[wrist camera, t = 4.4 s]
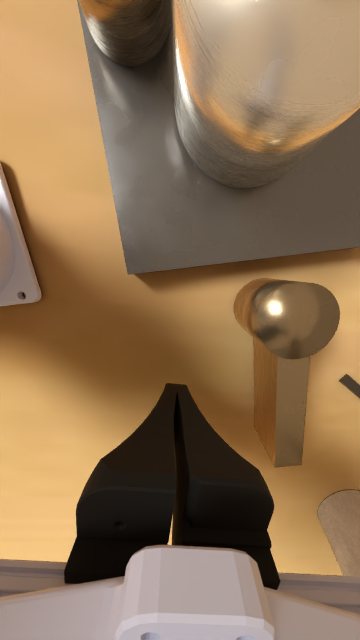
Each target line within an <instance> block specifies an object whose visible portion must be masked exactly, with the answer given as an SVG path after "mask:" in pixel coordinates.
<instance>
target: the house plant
mask: <svg viewBox="0 0 360 640" xmlns="http://www.w3.org/2000/svg"><path fill="white" fill-rule="evenodd" d="M317 513H318V518H319V520H320V523H321V525H322V527H323V529H324V532H325V534H326V536H327V539H328V541H329V543H330V546H331V548H332V550H333V552H334V555H335V557H336V559H337V562H338V564H339V566H340V569H341V571H342V573H343V576H356V577H360V491H357V490H345V491H340V492H337V493H334V494H332V495H331V496H329V497H327V498H326V499H325V500H324V501H323V502H322V503H321V504H320V506H319V508H318V511H317Z"/></svg>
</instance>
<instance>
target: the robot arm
mask: <svg viewBox="0 0 360 640" xmlns="http://www.w3.org/2000/svg"><path fill="white" fill-rule="evenodd" d="M23 292H24V293H25V295H26V298H24V297H23V296H22V293H23ZM41 296H42V295H41V291H40V288H39V284H38V281H37V278H36V275H35V271H34V268H33V265H32V262H31V259H30V255H29V252H28V249H27V246H26V243H25V239H24V236H23V233H22V230H21V227H20V223H19V220H18V217H17V214H16V210H15V207H14V204H13V201H12V198H11V194H10V191H9V188H8V185H7V182H6V178H5V175H4V172H3V169H2V166H1V163H0V306H8V305H16V304H25V303H33V302H37V301H39V300H40V299H41ZM273 510H274V502H273V499H272V496H271V494H270V491H269V489H268V487H267V485H266V483H265V481H264V479H263V477H262V475H261V473H260V471H259V470H258V469H257V468H256V467H254V466H253V465H252V464H250V463H249V462H248V461H246V460H245V459H244V458H243V457H241V456H240V455H239V454H238V453H237V452H235V451H234V450H233V449H232V448H231V447H230V446H229V445H228V444H227V443H226V442H225V441H224V440H223V439H222V438H221V437H220V436H219V435H218V434H217V433H216V432H215V431H214V429H213V428H212V427H211V426H210V425H209V423H208V422H207V421H206V419H205V418H204V416H203V415H202V413H201V412H200V410H199V409H198V407H197V405H196V404H195V402H194V400H193V398H192V396H191V394H190V392H189V390H188V387H187V386H186V385H181V384H170V383H167V384H166V385H165V388H164V391H163V393H162V395H161V397H160V399H159V400H158V402H157V404H156V405H155V407H154V408H153V410H152V411H151V413H150V414H149V415H148V417H147V418H146V419H145V420H144V422H143V423H142V424H141V425H140V426H139V427H138V428H137V429H136V430H135V431H134V432H133V433H132V434H131V435H130V436H129V437H128V438H127V439H126V440H125V441H124V442H122V443H121V444H120V445H119V446H118V447H117V448H115V449H114V450H113V451H111V452H110V453H109V454H107V455H106V456H104V457H103V458H102V459H101V460H100V461H99V463H98V464H97V466H96V467H95V469H94V471H93V472H92V474H91V476H90V478H89V479H88V481H87V483H86V485H85V487H84V490H83V492H82V494H81V497H80V499H79V501H78V504H77V508H76V526H77V537H76V540H75V543H74V545H73V548H72V551H71V554H70V556H69V559H68V562H49V561H29V560H8V559H0V640H360V577H356V576H336V575H315V574H295V573H278V572H277V569H276V566H275V563H274V560H273V557H272V554H271V551H270V548H271V540H270V537H269V535H268V532H267V528H268V525H269V523H270V520H271V517H272V514H273ZM172 515H173V527H172V545H167V543H168V541H169V534H170V528H171V521H172Z"/></svg>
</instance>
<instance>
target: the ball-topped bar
mask: <svg viewBox="0 0 360 640" xmlns="http://www.w3.org/2000/svg"><path fill="white" fill-rule="evenodd" d="M234 314H235V317H236V320H237V321H238V323H239V324H240V325H241V326H242V327H243V328H244V329H245V330H246V331H248V332H249V333H250V334H251V335H252V336H253V348H254V427H255V429H256V431H257V433H258V435H259V437H260V439H261V441H262V443H263V445H264V447H265V449H266V451H267V453H268V455H269V457H270V459H271V461H272V463H273V465H274V467H284V466H294V465H302V452H303V439H304V426H305V413H306V399H307V386H308V373H309V360H310V356H311V355H313V354H315V353H317V352H318V351H320V350H321V349H322V348H323V347H325V346H326V345H327V344H328V343H329V341H330V340H331V339H332V337H333V336H334V334H335V332H336V330H337V327H338V324H339V319H340V311H339V305H338V303H337V300H336V298H335V297H334V295H333V294H332V293H331V292H330V291H329V290H328V289H326V288H325V287H323V286H321V285H318V284H314V283H306V282H296V281H286V280H277V279H267V278H262V279H256V280H253V281H251V282H249V283H248V284H246V285H245V286H244V287H243V288H242V289H241V290H240V291H239V293H238V295H237V297H236V299H235V302H234Z"/></svg>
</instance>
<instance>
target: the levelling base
mask: <svg viewBox="0 0 360 640" xmlns="http://www.w3.org/2000/svg"><path fill="white" fill-rule="evenodd" d="M77 1H78V6H79V12H80V17H81V23H82V28H83V33H84V39H85V44H86V50H87V55H88V61H89V66H90V72H91V77H92V82H93V88H94V93H95V99H96V104H97V110H98V115H99V121H100V126H101V131H102V137H103V142H104V148H105V153H106V159H107V164H108V169H109V175H110V180H111V186H112V191H113V197H114V202H115V208H116V213H117V218H118V224H119V229H120V235H121V240H122V246H123V251H124V257H125V262H126V267H127V273H128V275H129V274H137V273H146V272H154V271H163V270H171V269H179V268H188V267H196V266H205V265H213V264H221V263H230V262H238V261H246V260H255V259H263V258H272V257H280V256H288V255H297V254H305V253H314V252H322V251H330V250H339V249H347V248H355V247H360V0H77ZM339 381H340V382H341V383H342V384H344V385H345V386H346V387H347V388H348V389H349V390H351V391H352V392H353V393H354V394H355V395H357V396H358V397H359V398H360V385H359V384H358V383H357V382H355V381H354V380H353V379H352V378H351V377H350V376H348V375H347V374H346V375H345V376H344V377H343V378H342V379H340V380H339Z"/></svg>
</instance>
